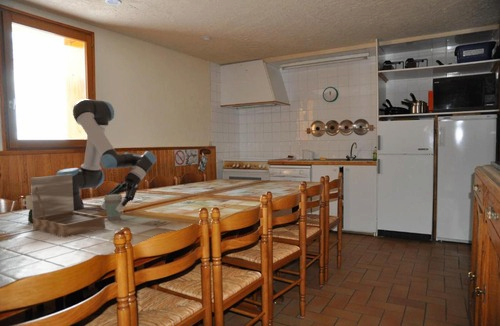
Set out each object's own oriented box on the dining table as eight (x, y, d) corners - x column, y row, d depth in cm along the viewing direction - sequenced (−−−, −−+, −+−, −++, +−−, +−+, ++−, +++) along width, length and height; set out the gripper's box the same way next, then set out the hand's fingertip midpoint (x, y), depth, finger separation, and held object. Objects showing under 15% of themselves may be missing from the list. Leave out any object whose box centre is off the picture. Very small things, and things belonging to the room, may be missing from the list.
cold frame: (33, 229, 150) (30, 177, 149) (72, 221, 165) (70, 174, 164) (64, 237, 136) (61, 180, 135) (105, 227, 151) (102, 176, 150)
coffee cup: (126, 218, 170) (125, 194, 169) (111, 221, 163) (110, 197, 162) (116, 216, 174) (115, 193, 174) (101, 219, 167) (100, 195, 166)
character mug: (50, 219, 169) (49, 193, 169) (44, 222, 162) (43, 196, 162) (27, 220, 168) (25, 194, 167) (20, 224, 161) (18, 197, 160)
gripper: (117, 170, 183) (91, 202, 172) (145, 172, 168) (119, 207, 157) (126, 179, 187) (101, 211, 176) (154, 182, 172) (129, 216, 161)
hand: (109, 209), depth 167 cm, fingers open, 13 cm apart
